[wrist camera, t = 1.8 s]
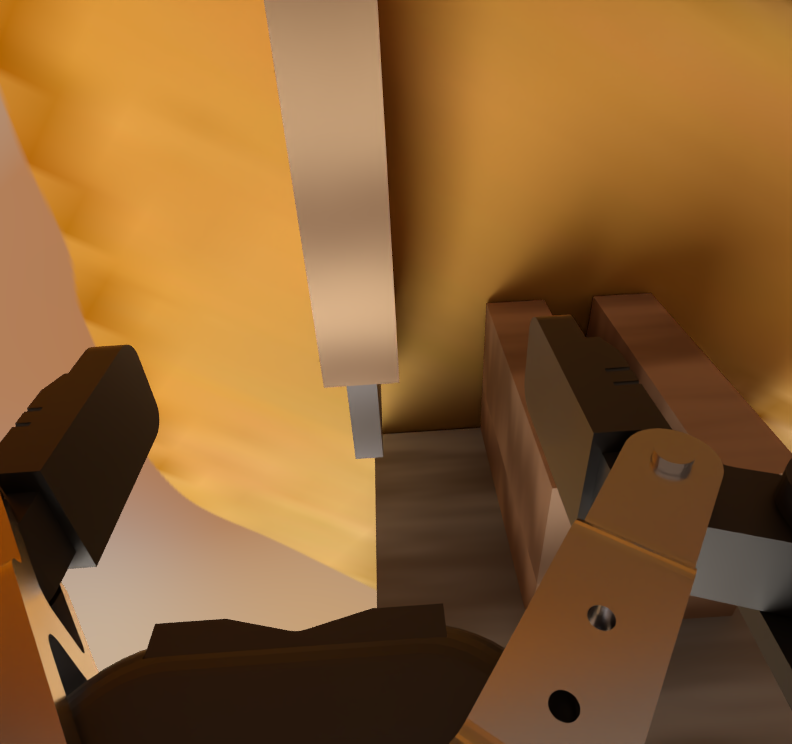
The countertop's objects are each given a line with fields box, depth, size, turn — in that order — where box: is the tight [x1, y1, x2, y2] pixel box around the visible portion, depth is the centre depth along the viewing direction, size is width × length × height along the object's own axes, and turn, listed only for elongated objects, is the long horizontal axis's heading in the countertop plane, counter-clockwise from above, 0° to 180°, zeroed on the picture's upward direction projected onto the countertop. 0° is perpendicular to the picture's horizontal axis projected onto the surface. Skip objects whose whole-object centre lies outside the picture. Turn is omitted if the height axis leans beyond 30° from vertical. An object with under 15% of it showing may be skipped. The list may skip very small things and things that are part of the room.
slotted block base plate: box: [375, 293, 792, 744], centre depth 22 cm, size 10×20×20 cm, turn 93°
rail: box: [264, 0, 399, 459], centre depth 22 cm, size 18×3×6 cm, turn 3°
